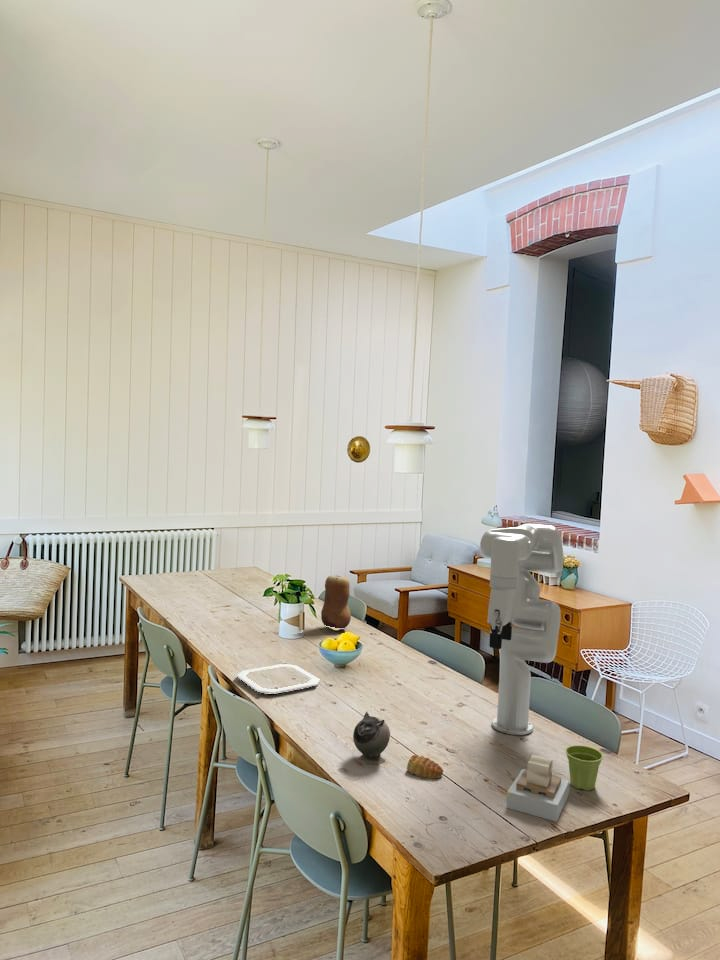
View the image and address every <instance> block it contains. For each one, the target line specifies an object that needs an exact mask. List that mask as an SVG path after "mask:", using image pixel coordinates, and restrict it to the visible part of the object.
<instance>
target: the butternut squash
mask: <svg viewBox="0 0 720 960" xmlns="http://www.w3.org/2000/svg"><path fill="white" fill-rule="evenodd" d="M349 598H350V581H349V579H348V578H347V577H345V576H343V575H338V574H334V575H333V574H332V575H328V577H326V580H325V583H324V601H323V605H322V609H321V612H320V614H321V617H320V618H321V619H320V620H321V622H322V624H323V625H324V626H325V625H326V626H330V627H335V628H345V627H346V628H347V627H348V626H349V625H350V622H351V618H352V614H351V610H350V606H349V603H348V602H349ZM326 626H325V627H326ZM346 628H345V629H346Z"/></svg>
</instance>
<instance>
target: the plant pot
mask: <svg viewBox="0 0 720 960" xmlns="http://www.w3.org/2000/svg"><path fill="white" fill-rule="evenodd" d="M564 751H565V754H566V757H567V760H568V768H569V769H568V770H569V783H570V785H571V786H572V787H573V788H576V789H582V790H583V791H591V790H594V789H595V787H596V783H597V777H598V773H599V767H600V765H601V762H602V760H603V759H604V754H603V752H601V751H600V750H599V749H596V748H594V747H591V746H586V745H579V744H576V745H575V744H574V745H569V746H567V747H566V748H565V750H564Z"/></svg>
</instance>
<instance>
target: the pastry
mask: <svg viewBox="0 0 720 960" xmlns="http://www.w3.org/2000/svg"><path fill="white" fill-rule="evenodd" d="M406 770H407V771H408V772H409V773H410V774H411V775H413V774H414V775H415V776H417V777H422V778H427V779H439V778H441V777H442V776H443V773H444V769H443V767H441V766H440V765H439V764H438V763H437V762H435V760H432V759H430V758H429V757H425V756H424V755H420V756H419V755H416V754H413V755H411V756H410V757H409V760H408V762H407V766H406Z"/></svg>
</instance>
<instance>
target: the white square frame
mask: <svg viewBox="0 0 720 960" xmlns="http://www.w3.org/2000/svg"><path fill="white" fill-rule="evenodd" d="M279 667H287V668H292V669H294V670H296V671H298V673H300V674H302V675H303V676H305V677H307V678H308V679H309V681H308V682H307V683H304V684H298V685H293V686H288V687H283V688H278V689H267V688H262V687H260V686H259V685H257V684H256V683H254V682H253V681H251V680H250V679H248V678H247V677H246V675H247V674H248V673H249V672H255V671H261V670H267V669H273V668H279ZM236 675H237V677H238V678H239V679H240V680H239V679H238V678H237V679H238V680H239V681H241V680H242V681H243V682H245V683H246V684H247V685H246V684H245V683H244V684H245V685H246V686H248V687H249V686H250V687H251V689H252V690H253V689H254V690H253V691H254V692H256V691H257V692H256V693H258V692H260V693H259V694H261V693H271V694H274V693H278V692H285V691H290V690H295V689H301V688H307V687H311V688H313V687H312V686H314V687H317V686H318V684H319V683H320V681H321V679H320V678H318V677H317V676H315V675H313V674H312V673H310V672H308V671H307V670H305V669H303V668H302V667H300V666H298V665H296V664H288V663H280V664H275V665H274V664H273V665H268V666H262V667H261V666H260V667H256V668H250V669H245V670H241V671H240V672H238V673H237V674H236ZM242 681H241V682H242ZM243 682H242V683H243ZM250 687H249V688H250Z"/></svg>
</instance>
